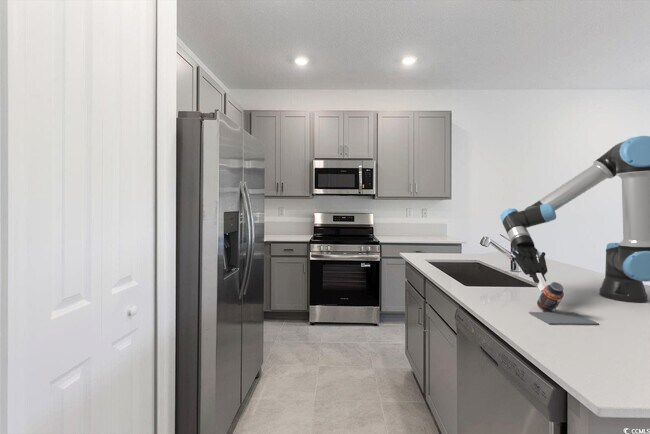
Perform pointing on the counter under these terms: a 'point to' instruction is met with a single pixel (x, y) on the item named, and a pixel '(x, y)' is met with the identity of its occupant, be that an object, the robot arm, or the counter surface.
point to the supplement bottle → (550, 297)
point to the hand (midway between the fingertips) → (544, 290)
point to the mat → (563, 318)
